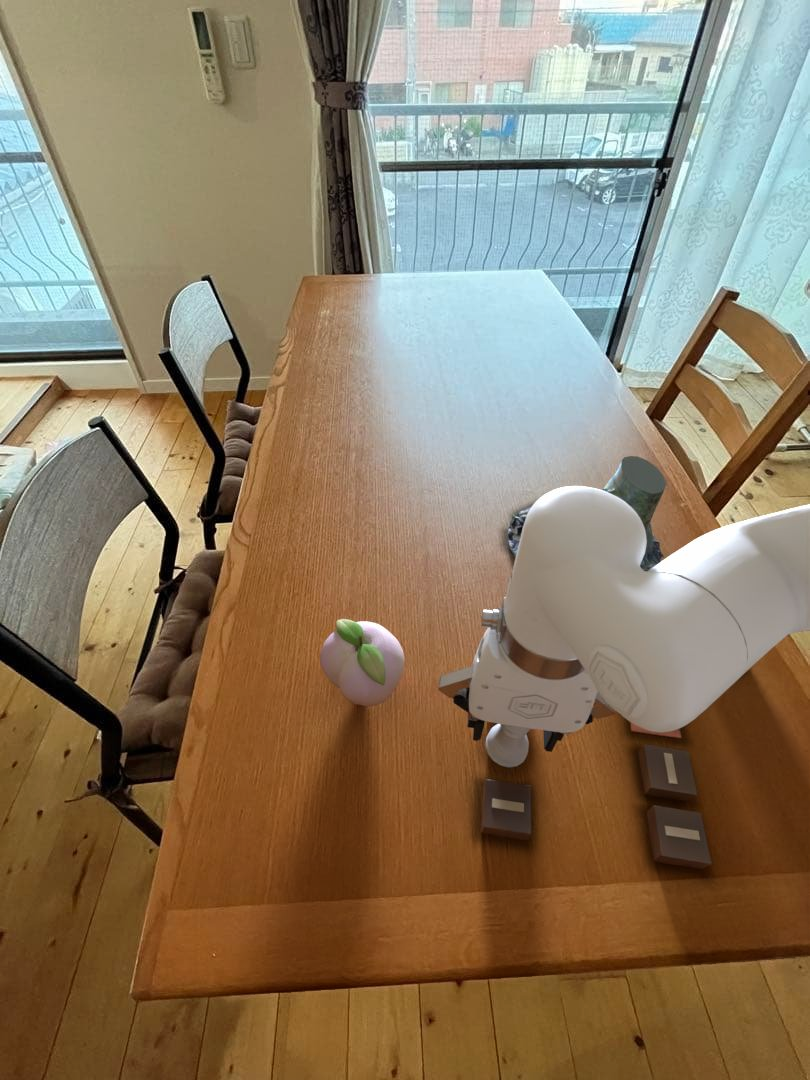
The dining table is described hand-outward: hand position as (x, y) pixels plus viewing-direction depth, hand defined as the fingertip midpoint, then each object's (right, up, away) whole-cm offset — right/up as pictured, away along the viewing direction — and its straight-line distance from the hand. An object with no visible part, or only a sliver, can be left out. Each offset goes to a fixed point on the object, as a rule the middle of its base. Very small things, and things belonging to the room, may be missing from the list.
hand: (512, 731), depth 55 cm
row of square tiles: (+16, -5, +2) cm, 17 cm away
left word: (0, -3, +3) cm, 4 cm away
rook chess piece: (0, -3, +3) cm, 4 cm away
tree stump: (+14, +18, +23) cm, 33 cm away
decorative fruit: (-15, +3, +8) cm, 17 cm away
